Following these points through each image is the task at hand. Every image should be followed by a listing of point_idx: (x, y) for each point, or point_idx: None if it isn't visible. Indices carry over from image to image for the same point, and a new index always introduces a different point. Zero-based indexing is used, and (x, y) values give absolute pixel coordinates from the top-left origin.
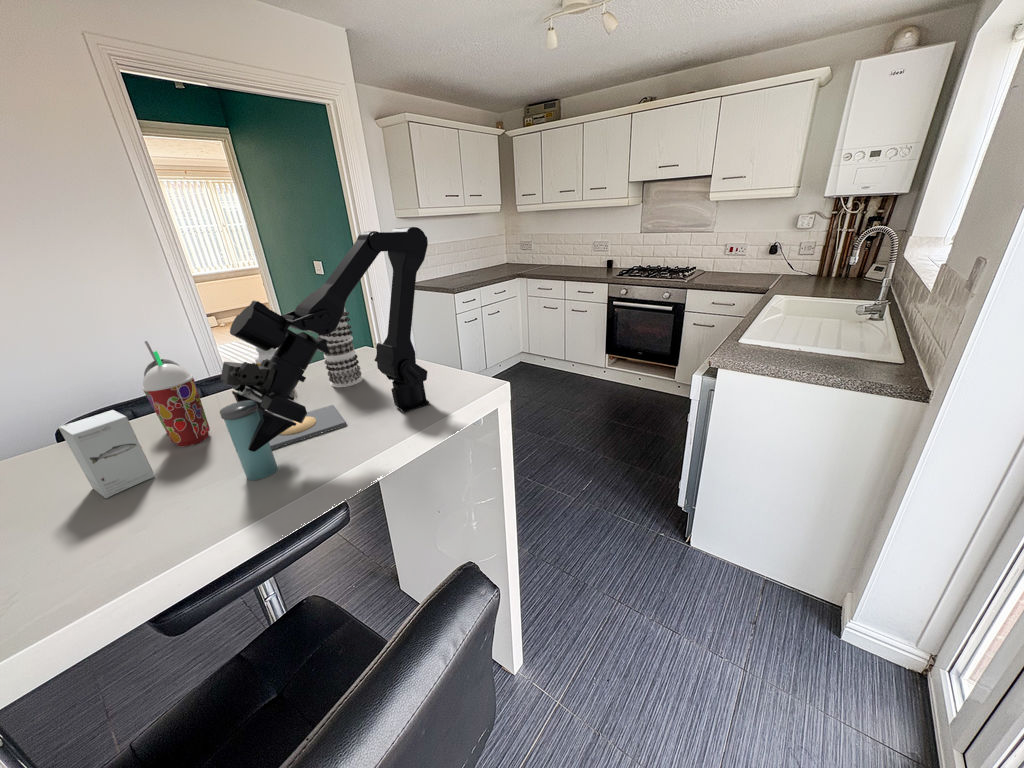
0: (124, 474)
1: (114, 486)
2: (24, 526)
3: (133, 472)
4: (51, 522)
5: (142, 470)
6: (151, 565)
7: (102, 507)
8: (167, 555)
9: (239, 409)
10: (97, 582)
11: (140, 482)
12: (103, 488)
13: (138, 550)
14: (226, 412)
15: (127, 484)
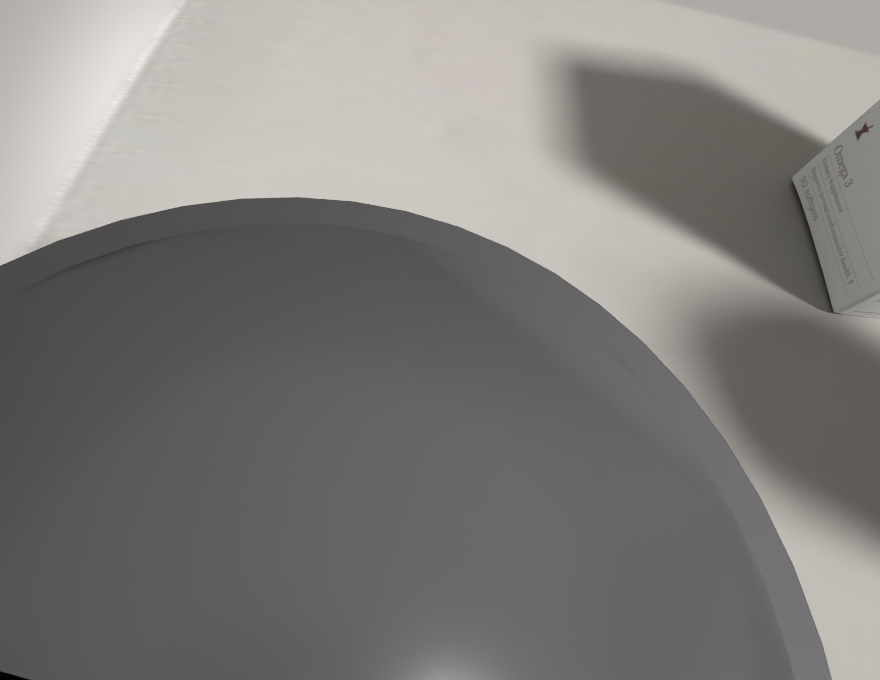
0: (866, 197)
1: (825, 183)
2: (809, 57)
3: (867, 226)
4: (769, 82)
5: (870, 259)
6: (219, 66)
7: (735, 154)
8: (212, 97)
9: (8, 582)
10: (309, 8)
11: (821, 266)
12: (825, 151)
13: (340, 86)
14: (278, 284)
15: (823, 223)
